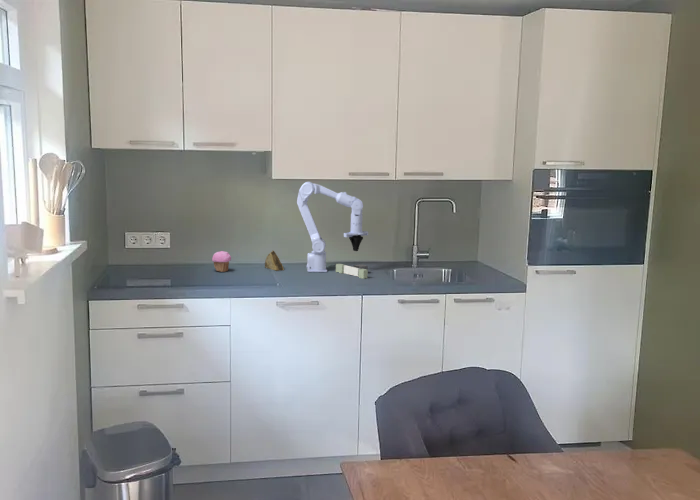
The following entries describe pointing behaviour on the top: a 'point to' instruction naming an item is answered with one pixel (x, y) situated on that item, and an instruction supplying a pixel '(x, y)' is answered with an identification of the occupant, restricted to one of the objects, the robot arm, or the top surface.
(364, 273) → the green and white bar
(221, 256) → the cupcake
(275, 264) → the rock
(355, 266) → the block
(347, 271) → the door
